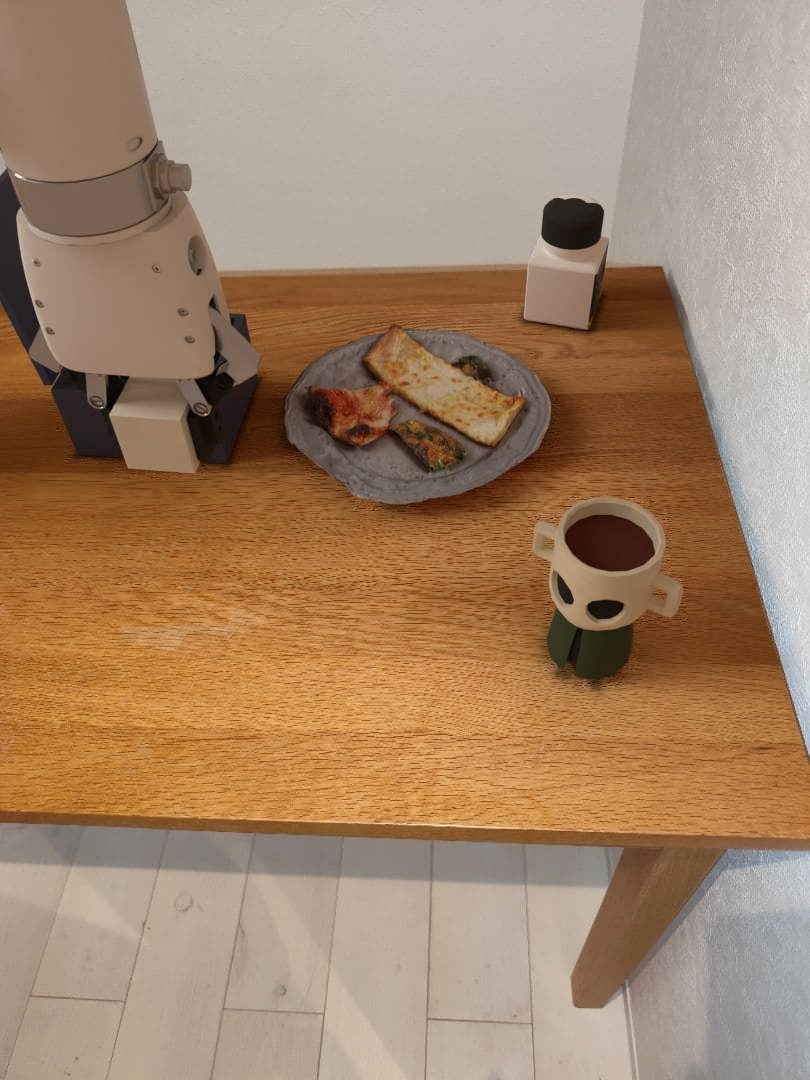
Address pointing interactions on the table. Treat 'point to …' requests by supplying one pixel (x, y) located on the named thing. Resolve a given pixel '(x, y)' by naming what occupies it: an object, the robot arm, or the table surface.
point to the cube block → (154, 426)
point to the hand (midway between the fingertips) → (170, 443)
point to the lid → (17, 277)
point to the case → (89, 421)
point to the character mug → (603, 581)
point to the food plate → (416, 414)
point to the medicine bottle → (567, 263)
